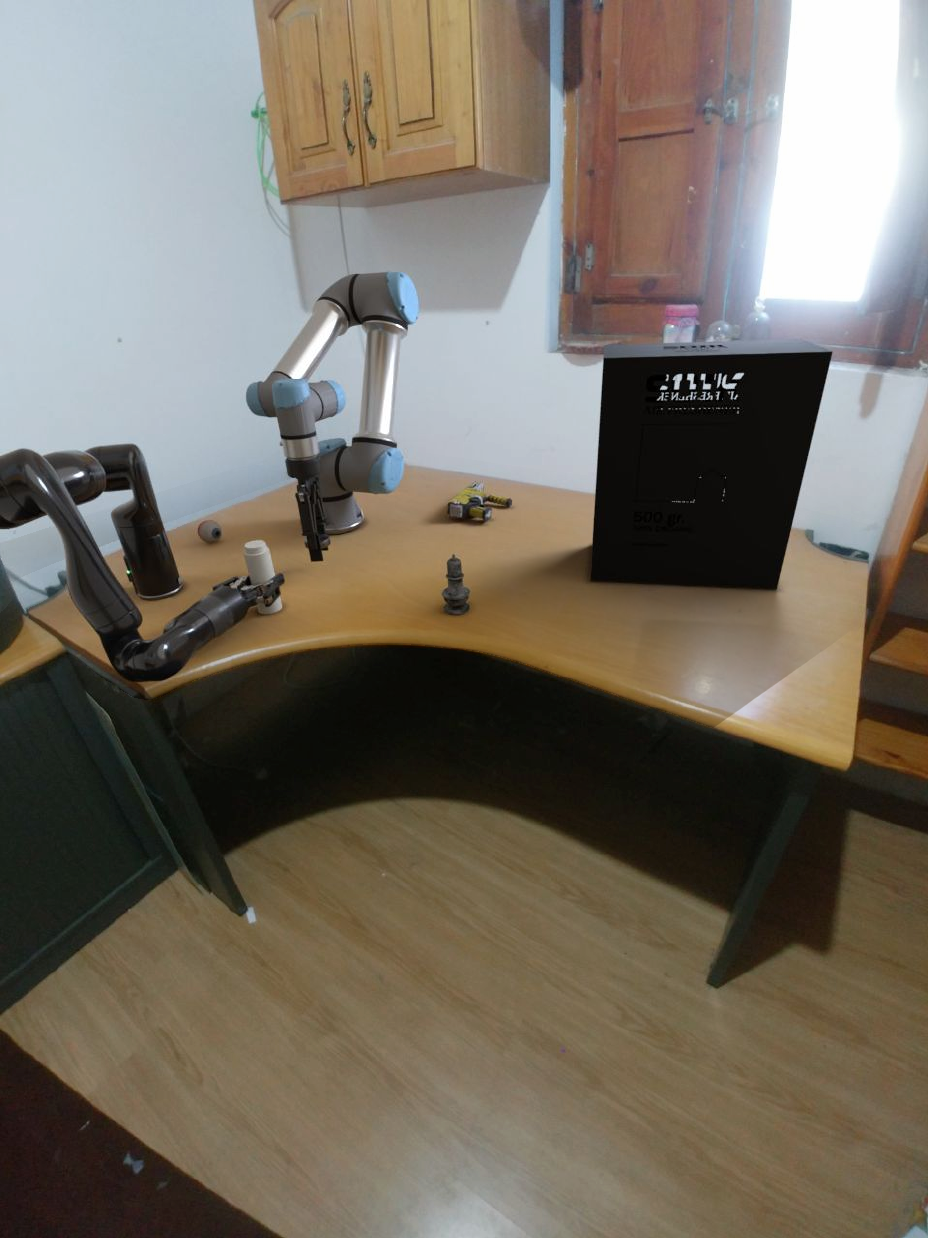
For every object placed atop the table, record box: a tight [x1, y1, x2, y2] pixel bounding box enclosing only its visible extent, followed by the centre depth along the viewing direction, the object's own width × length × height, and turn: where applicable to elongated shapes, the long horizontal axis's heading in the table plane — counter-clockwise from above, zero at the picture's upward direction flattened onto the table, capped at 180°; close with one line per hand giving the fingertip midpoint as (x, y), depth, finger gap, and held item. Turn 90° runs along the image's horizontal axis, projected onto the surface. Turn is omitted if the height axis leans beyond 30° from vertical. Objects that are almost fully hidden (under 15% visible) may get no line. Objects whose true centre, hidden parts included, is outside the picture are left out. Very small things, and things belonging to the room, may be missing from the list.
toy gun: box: [446, 480, 513, 523], centre depth 174 cm, size 5×24×15 cm
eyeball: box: [197, 519, 223, 544], centre depth 161 cm, size 6×6×6 cm
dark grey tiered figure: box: [441, 553, 471, 615], centre depth 121 cm, size 6×6×12 cm
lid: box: [303, 534, 331, 550], centre depth 140 cm, size 6×6×2 cm
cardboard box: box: [589, 338, 834, 590], centre depth 125 cm, size 38×20×45 cm, turn 78°
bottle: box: [243, 539, 283, 615], centre depth 125 cm, size 5×5×15 cm
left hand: (271, 575), depth 127 cm, fingers closed on bottle, 5 cm apart
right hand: (319, 555), depth 141 cm, fingers closed on lid, 6 cm apart
